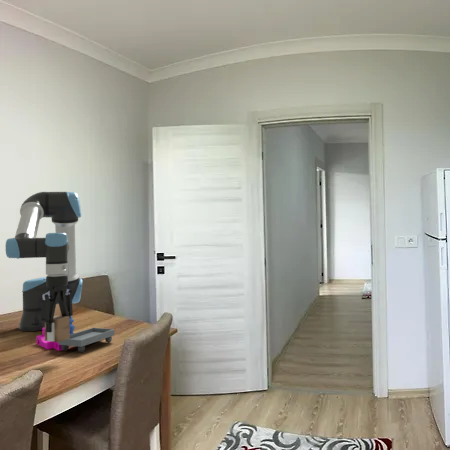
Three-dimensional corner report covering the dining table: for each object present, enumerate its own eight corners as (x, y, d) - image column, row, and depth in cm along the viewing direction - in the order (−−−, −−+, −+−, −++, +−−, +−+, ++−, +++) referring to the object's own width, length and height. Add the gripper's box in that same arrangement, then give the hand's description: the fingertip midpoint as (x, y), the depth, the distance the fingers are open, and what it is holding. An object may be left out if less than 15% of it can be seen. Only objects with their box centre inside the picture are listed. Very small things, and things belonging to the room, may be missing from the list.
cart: (58, 351, 180) (58, 338, 180) (93, 339, 200) (93, 327, 200) (81, 353, 176) (81, 340, 176) (114, 341, 196) (114, 329, 196)
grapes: (55, 341, 199) (55, 313, 199) (72, 339, 202) (71, 312, 202) (61, 347, 189) (60, 317, 189) (78, 344, 192) (77, 316, 192)
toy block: (36, 346, 191) (36, 328, 191) (51, 344, 195) (50, 326, 195) (52, 353, 180) (52, 334, 180) (67, 350, 185) (67, 331, 185)
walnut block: (44, 340, 166) (44, 318, 166) (56, 336, 171) (56, 315, 171) (57, 342, 163) (57, 319, 163) (69, 338, 169) (69, 316, 169)
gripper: (45, 278, 157) (46, 346, 157) (82, 272, 175) (83, 333, 175) (28, 277, 160) (29, 344, 160) (67, 272, 177) (67, 332, 178)
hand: (57, 338), depth 167 cm, fingers closed on walnut block, 6 cm apart
